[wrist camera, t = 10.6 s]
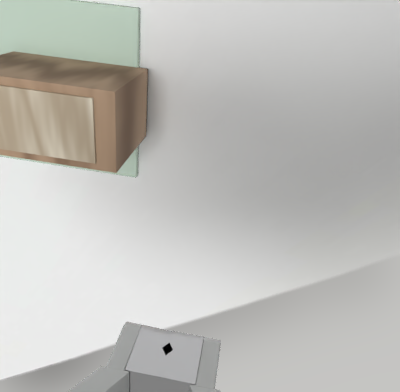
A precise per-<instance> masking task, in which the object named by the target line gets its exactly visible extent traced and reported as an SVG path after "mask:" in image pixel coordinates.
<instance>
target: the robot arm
mask: <svg viewBox="0 0 400 392" xmlns="http://www.w3.org/2000/svg"><path fill="white" fill-rule="evenodd" d="M220 344H221V341H220V340H217V339H213V338H207V337H204V336H198V335H193V334H187V333H181V332H175V331H168V330H164V329H159V328H155V327H150V326H146V325H141V324H136V323H131V322H126V323H125V325H124V326H123V328H122V331H121V333H120V335H119V338H118V340H117V342H116V345H115V347H114V350H113V352H112V354H111V357H110V359H109V361H108V364H107V366H106V367H104V366H101V367H99V368H98V369H97V370H96V371H94V372H93V373H92V374H90V375H89V376H87V377H86V378H85V379H83V380H82V381H81V382H80V383H78V384H77V385H75V386H74V387H73V388H71V389H70V390H69V391H68V392H220V391H219V390H216V389H215V382H216V375H217V367H218V360H219V351H220Z"/></svg>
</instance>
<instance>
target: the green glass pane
mask: <svg viewBox="0 0 400 392" xmlns="http://www.w3.org/2000/svg"><path fill="white" fill-rule="evenodd" d="M139 38H140V8H136V7H127V6H119V5H110V4H101V3H93V2H84V1H76V0H0V55H1V54H5V53H9V52H13V51H15V52H22V53H30V54H38V55H45V56H53V57H60V58H68V59H76V60H83V61H91V62H99V63H106V64H114V65H122V66H129V67H137V68H139ZM0 157H7V158H13V159H20V160H26V161H32V162H39V163H45V164H52V165H58V166H65V167H71V168H77V169H84V170H90V171H97V172H103V173H110V174H116V175H122V176H129V177H135V178H136V177H137V175H138V147H137V148H136V149H135V150H134V152H133V153H132V154H131V155H130V157H129V158H128V159H127V160H126V162H125V163H124V164H123V165H122V167H121V168H120V169H119V170H118V172H117V173H113V172H107V171H100V170H94V169H87V168H81V167H75V166H68V165H62V164H55V163H49V162H43V161H36V160H30V159H23V158H17V157H11V156H4V155H0Z"/></svg>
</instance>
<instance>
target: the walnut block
mask: <svg viewBox="0 0 400 392" xmlns="http://www.w3.org/2000/svg"><path fill="white" fill-rule="evenodd" d="M147 74H148V69H144V68H137V67H129V66H122V65H114V64H106V63H99V62H91V61H83V60H76V59H68V58H60V57H53V56H45V55H38V54H30V53H22V52H15V51H13V52H9V53H5V54H1V55H0V155H4V156H11V157H17V158H23V159H30V160H36V161H43V162H49V163H55V164H62V165H68V166H75V167H81V168H87V169H94V170H100V171H107V172H113V173H117V172H118V170H119V169H120V168H121V167H122V165H123V164H124V163H125V162H126V160H127V159H128V158H129V157H130V155H131V154H132V153H133V152H134V150H135V149H136V148H137V147H138V145H139V144H140V143H141V142H142V140H143V139H144V138H145V137H146V115H147Z"/></svg>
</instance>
